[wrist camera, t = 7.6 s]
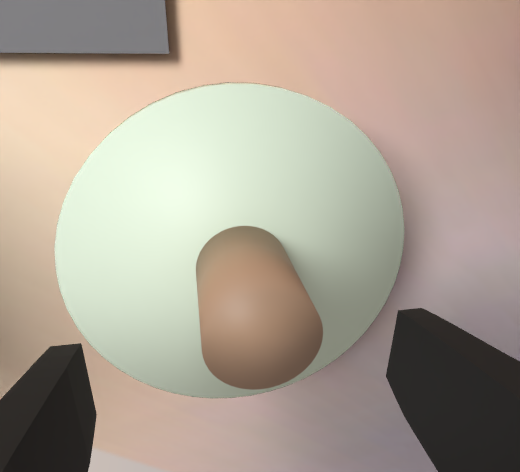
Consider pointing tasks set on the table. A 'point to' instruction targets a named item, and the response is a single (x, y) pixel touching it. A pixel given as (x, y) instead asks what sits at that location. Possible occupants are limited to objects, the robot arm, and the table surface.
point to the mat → (83, 26)
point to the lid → (229, 240)
